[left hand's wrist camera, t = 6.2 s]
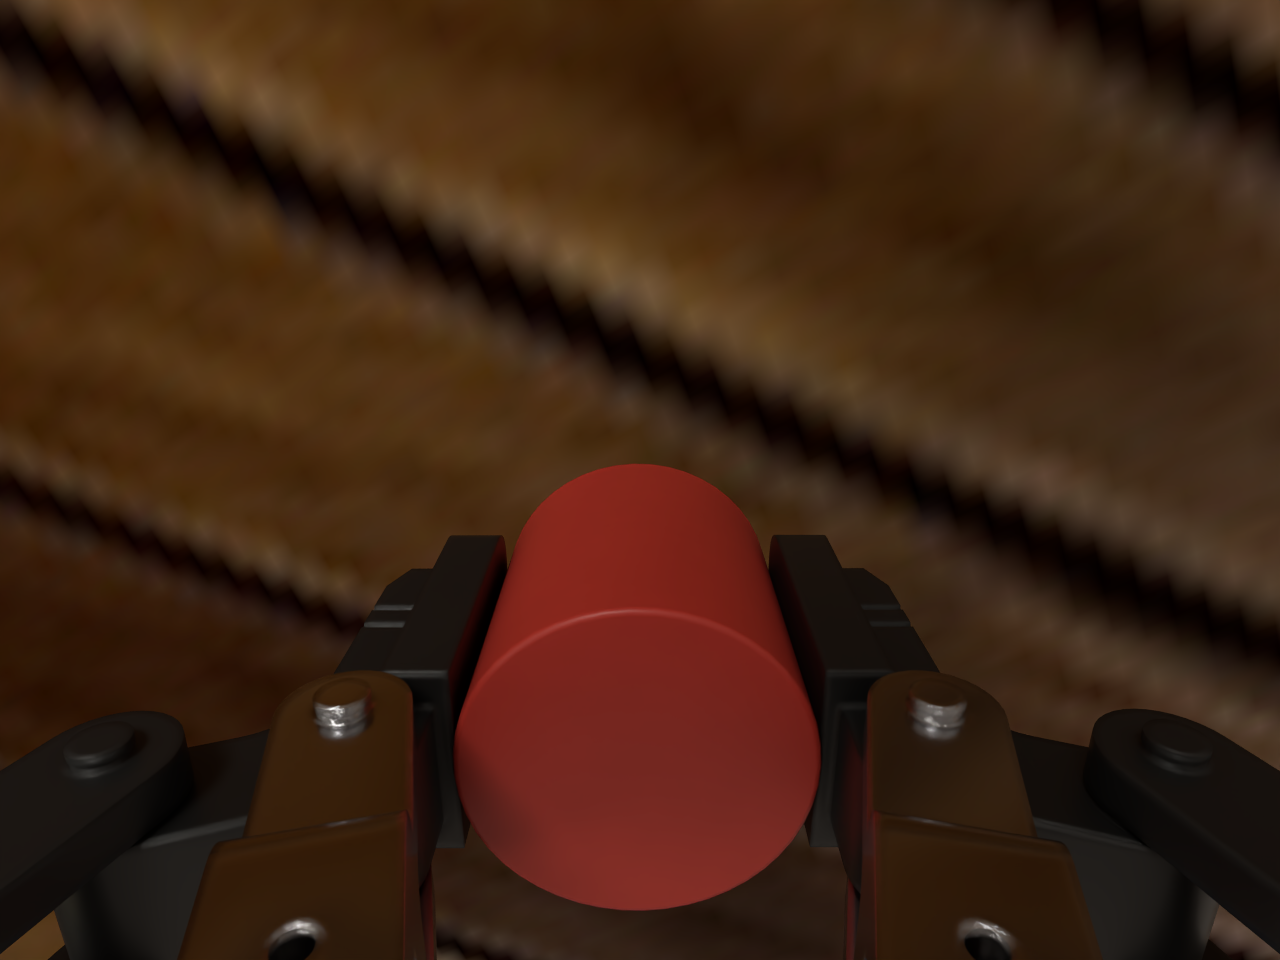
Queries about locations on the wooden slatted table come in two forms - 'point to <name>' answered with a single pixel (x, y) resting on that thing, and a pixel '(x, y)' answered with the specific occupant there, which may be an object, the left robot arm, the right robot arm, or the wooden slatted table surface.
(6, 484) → the wooden slatted table surface
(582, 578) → the canister
